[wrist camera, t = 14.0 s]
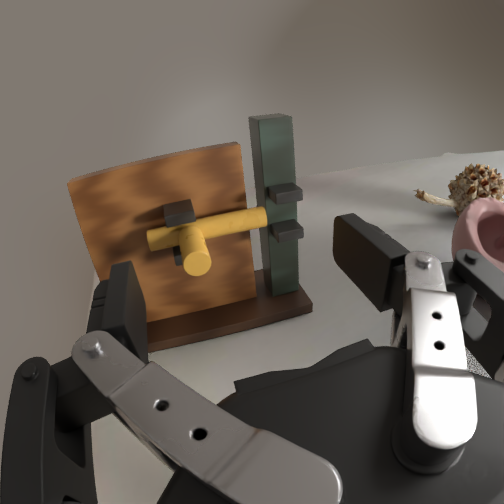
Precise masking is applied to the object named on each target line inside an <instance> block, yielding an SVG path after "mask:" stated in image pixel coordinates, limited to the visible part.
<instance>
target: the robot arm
mask: <svg viewBox="0 0 504 504" xmlns="http://www.w3.org/2000/svg"><path fill="white" fill-rule="evenodd" d="M333 256H334V260H335V262H336V264H337V265H338V266H339V267H340V268H341V269H342V270H343V272H344V273H345V274H346V275H347V276H348V277H349V278H350V279H351V280H352V281H353V282H354V283H355V285H356V286H357V287H358V288H359V289H360V290H361V291H362V292H363V293H364V294H365V296H366V297H367V298H368V299H369V300H370V301H371V302H372V303H373V305H374V306H375V307H376V308H377V309H378V310H379V311H380V312H383V311H385V310H388V309H391V308H392V309H393V310H394V311H393V315H392V327H391V342H390V347H389V346H381V347H374V346H373V345H372V344H371V342H370V341H369V340H368V339H365V340H362V341H360V342H357V343H354V344H352V345H349V346H346V347H343V348H341V349H338V350H337V351H335V352H333V353H332V354H330V355H329V356H327V357H326V358H324V359H322V360H321V361H319V362H318V363H316V364H314V365H313V366H311V367H308V368H303V369H293V370H283V371H271V372H267V373H263V374H259V375H256V376H252V377H249V378H245V379H241V380H237V381H234V385H235V389H236V392H235V393H233V394H231V395H229V396H228V397H226V398H225V399H223V400H222V401H221V402H219V403H218V404H217V405H215V404H214V403H212V402H211V401H209V400H208V399H206V398H205V397H203V396H202V395H200V394H199V393H197V392H196V391H194V390H193V389H191V388H190V387H188V386H187V385H185V384H184V383H183V382H181V381H180V380H178V379H177V378H176V377H174V376H173V375H171V374H170V373H169V372H167V371H166V370H165V369H163V368H162V367H161V366H159V365H158V364H156V363H155V362H153V361H150V362H148V343H147V312H146V303H145V299H144V295H143V292H142V289H141V287H140V284H139V281H138V278H137V275H136V272H135V269H134V266H133V263H132V261H131V260H129V261H125V262H121V263H116V264H112V265H111V270H110V275H109V279H106V280H102V281H101V282H100V283H99V285H98V286H97V287H96V289H95V291H94V295H93V301H92V305H91V310H90V315H89V320H88V326H87V332H86V334H85V335H83V336H82V337H81V338H79V339H78V340H77V341H76V343H75V344H74V346H73V348H72V356H71V357H69V358H67V359H65V360H63V361H61V362H58V363H56V364H54V365H52V366H50V364H49V363H48V362H47V360H46V359H44V358H42V357H33V358H30V359H28V360H26V361H25V362H23V363H22V364H21V365H20V366H19V367H18V369H17V370H16V373H15V375H14V379H13V384H12V389H11V394H10V400H9V405H8V411H7V417H6V424H5V432H4V441H3V451H2V462H1V482H0V504H98V501H97V494H96V486H95V477H94V467H93V455H92V439H91V422H93V421H95V420H98V419H100V418H102V417H104V416H106V415H109V414H111V413H112V414H113V415H114V416H115V417H116V418H117V419H118V420H119V421H120V422H121V423H122V424H123V425H124V426H125V427H126V428H127V429H128V430H129V431H130V432H131V433H132V434H133V435H134V436H135V437H136V438H137V439H138V440H139V441H140V442H141V443H142V444H143V445H145V446H146V447H147V448H148V449H149V450H150V451H151V452H152V453H153V454H154V455H155V456H156V457H157V458H158V459H159V460H160V461H161V462H162V463H163V464H164V465H166V466H167V467H168V468H169V469H170V470H172V471H173V472H174V474H173V476H172V478H171V479H170V481H169V483H168V485H167V486H166V488H165V490H164V492H163V493H162V495H161V497H160V499H159V500H158V502H157V504H504V273H503V272H502V271H501V270H500V269H499V268H497V267H496V266H495V265H494V264H492V263H491V262H490V261H489V260H487V259H486V258H485V257H484V256H482V255H481V254H480V253H478V252H476V251H473V250H469V249H460V250H458V251H457V252H456V254H455V258H454V262H445V263H441V262H440V261H439V259H438V258H437V257H435V256H434V255H432V254H430V253H427V252H422V251H414V252H410V251H408V250H407V249H406V248H405V247H403V246H402V245H401V244H400V243H398V242H397V241H396V240H394V239H392V238H391V237H390V236H389V235H388V234H385V232H384V231H382V230H381V229H380V228H378V227H377V226H375V225H372V224H369V223H367V222H365V221H364V220H362V219H361V218H360V217H358V216H357V215H356V214H354V213H351V214H346V215H341V216H337V217H335V220H334V233H333ZM477 293H478V294H479V295H480V296H481V297H482V298H483V299H484V300H485V301H486V302H487V303H488V304H489V305H490V307H491V310H492V315H491V318H490V320H489V322H488V321H487V320H486V319H485V318H484V317H483V316H482V315H481V314H480V313H479V312H478V311H477V310H476V309H475V308H474V307H473V306H472V305H473V303H474V300H475V297H476V295H477ZM465 346H466V348H467V349H468V350H469V351H470V352H471V353H472V355H473V356H474V357H475V358H476V359H477V361H478V362H479V363H480V364H481V366H482V367H483V368H484V369H485V370H486V372H487V373H488V374H489V375H490V377H491V378H492V379H491V378H487V377H484V376H481V375H478V374H475V373H472V372H469V371H468V368H467V360H466V352H465Z"/></svg>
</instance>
